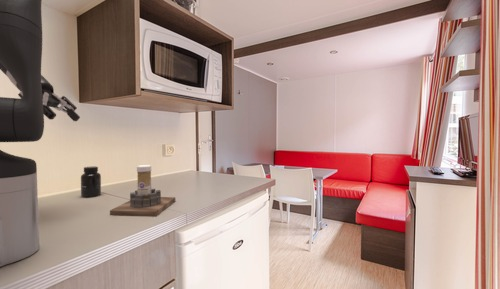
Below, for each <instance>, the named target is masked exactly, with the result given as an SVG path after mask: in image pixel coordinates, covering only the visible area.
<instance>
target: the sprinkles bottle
mask: <svg viewBox="0 0 500 289" xmlns="http://www.w3.org/2000/svg"><path fill="white" fill-rule="evenodd" d="M136 172H137V187H136V188H137V190H138V195H144V199H148V194H151V189H152V165H151V164H141V165H140V164H139V165H136Z"/></svg>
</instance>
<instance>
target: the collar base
mask: <svg viewBox="0 0 500 289" xmlns="http://www.w3.org/2000/svg"><path fill="white" fill-rule="evenodd" d="M161 194H162V191H161V189H156V188H151V194H148V199H144V195H138V189H137V190H134V192H130V193H129V197H130V198H129V200H128V201H126V202H123V203H122V204H120V205H118V206H115V207H113V208H112V209H110V210H109V216H130V217H131V216H132V217H134V216H135V217H157V216H159V215H160V214H161V213H162V212H163V211H165V210H166V209H167V208H169V207H170V206H172V204H174V203H175V202H176V197H175V196H161Z"/></svg>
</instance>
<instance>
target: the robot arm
mask: <svg viewBox="0 0 500 289" xmlns="http://www.w3.org/2000/svg"><path fill="white" fill-rule="evenodd" d="M42 57H43V21H42V0H0V71H1V72H2V73H3V74H4V75H5V76H6V77H7V78H8V79H9V81H10V82H11V83H12V84H13V85H14V86H15V88H17V89H18V90H19V93H18V94H17V95H18V97H19V98H18V97H16V98H15V97H3V96H0V143H26V142H27V143H30V142H31V143H32V142H38V141H40V140H41V138H42V137H43V135H44V130H45V117H46V118H47V119H48V120H54V119H55V118H56V117H57V113H56V112H54V111H53V109H55V110H56V111H62V112H64V113H65V114H66V115H67V116H68V117H69V118H70V119H71V121H73V122H78V121H79V120H80V118H81V117H80V115H79V114H78V113H77V112H76V110H77V106H76V105H75V104H74V103H73V102H71V101H70V99H68V97H66V96H65V95H62V96H61V97H59V95H57V94H56V93H54V86H53V85H52V84H51V83H50V82H49V81H48V80H47V79H46V77H45V76H43V75H42ZM59 105H60V106H59ZM52 108H53V109H52ZM37 169H38V167H37V162H36V161H35V160H34V159H32V158H28V157H23V156H18V155H14V154H11V153H8V152H5V151H4V150H1V149H0V268H1V267H3V266H6V265H9V264H12V263H15V262H18V261H21V260H24V259H26V258H28V257H30V256H32V255H33V254H35V253H36V252H38V251H39V250H40V229H39V228H40V227H39V224H40V223H39V200H38V197H39V196H38V194H39V193H38V172H37V171H38V170H37Z"/></svg>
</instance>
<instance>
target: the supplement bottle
mask: <svg viewBox="0 0 500 289" xmlns="http://www.w3.org/2000/svg"><path fill="white" fill-rule="evenodd" d="M98 171H99V167H98V166H94V165H93V166H85V167H83V173H82V175H80V195H81V198H95V197H98V195H99V196H100V195H101V194H102V177H101V176H102V175H101V173H99V172H98Z"/></svg>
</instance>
